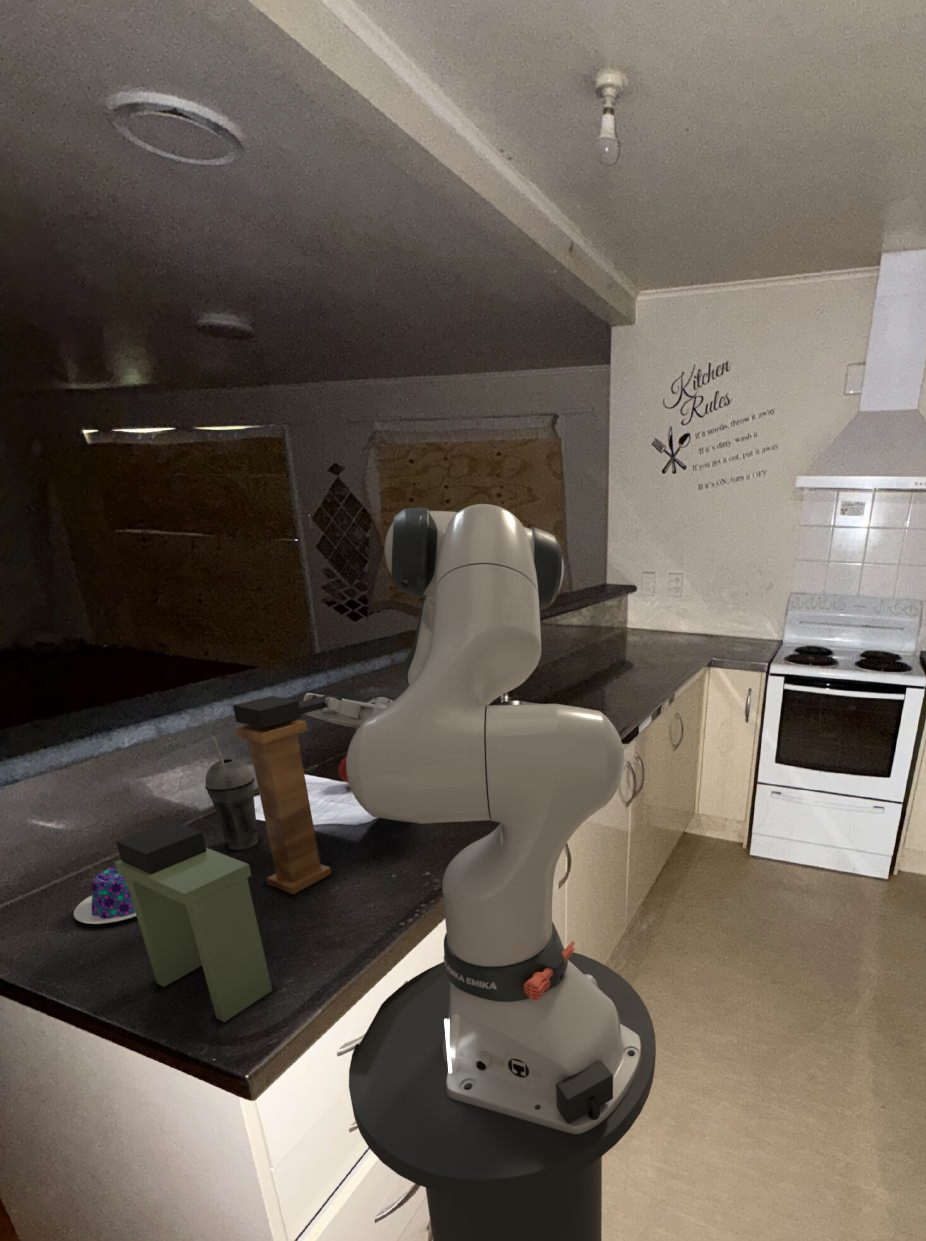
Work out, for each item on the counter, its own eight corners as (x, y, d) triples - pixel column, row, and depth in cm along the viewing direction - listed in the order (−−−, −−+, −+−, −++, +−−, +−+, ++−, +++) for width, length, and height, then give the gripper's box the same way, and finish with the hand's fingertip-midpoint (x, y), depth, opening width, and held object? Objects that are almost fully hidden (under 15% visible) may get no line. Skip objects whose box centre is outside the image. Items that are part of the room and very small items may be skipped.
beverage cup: (276, 837, 113) (254, 730, 106) (243, 856, 106) (218, 744, 99) (243, 832, 115) (220, 726, 108) (209, 850, 108) (182, 739, 101)
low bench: (276, 988, 76) (249, 864, 70) (219, 1025, 70) (184, 894, 64) (209, 953, 82) (179, 836, 76) (152, 985, 76) (114, 862, 70)
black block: (207, 851, 73) (202, 831, 72) (151, 874, 68) (145, 854, 67) (177, 839, 75) (172, 820, 75) (121, 861, 70) (115, 841, 70)
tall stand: (331, 873, 101) (305, 721, 92) (293, 894, 95) (261, 733, 86) (306, 864, 104) (279, 715, 95) (267, 884, 98) (234, 727, 89)
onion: (371, 780, 139) (366, 745, 136) (369, 789, 133) (364, 754, 131) (343, 782, 137) (337, 747, 134) (339, 792, 132) (334, 756, 129)
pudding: (52, 926, 87) (40, 894, 86) (119, 881, 99) (110, 851, 97) (135, 929, 87) (125, 897, 85) (193, 884, 98) (185, 854, 96)
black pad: (349, 704, 98) (347, 688, 97) (263, 728, 86) (259, 710, 86) (323, 699, 101) (320, 684, 100) (236, 722, 89) (232, 705, 88)
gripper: (346, 699, 114) (279, 674, 102) (432, 714, 105) (370, 688, 92) (336, 732, 113) (268, 711, 101) (421, 751, 104) (358, 729, 92)
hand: (317, 700), depth 97 cm, fingers closed on black pad, 3 cm apart
